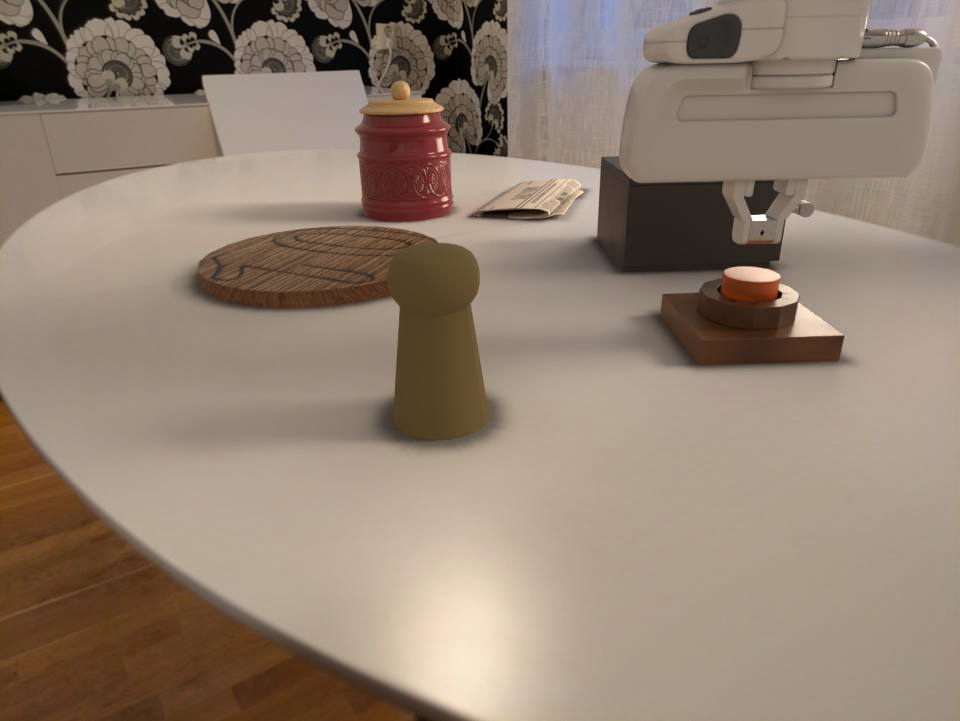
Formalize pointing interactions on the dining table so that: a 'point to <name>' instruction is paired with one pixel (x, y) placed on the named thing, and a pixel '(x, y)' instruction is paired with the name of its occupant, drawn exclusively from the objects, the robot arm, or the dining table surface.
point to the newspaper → (536, 199)
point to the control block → (748, 328)
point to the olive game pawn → (437, 343)
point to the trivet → (306, 266)
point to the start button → (750, 284)
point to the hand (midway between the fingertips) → (755, 242)
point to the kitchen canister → (404, 158)
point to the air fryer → (674, 224)
